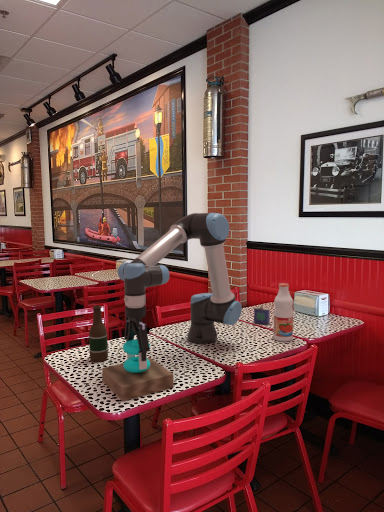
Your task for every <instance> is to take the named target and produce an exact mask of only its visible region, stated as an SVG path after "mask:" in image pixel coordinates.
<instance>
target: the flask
mask: <svg viewBox="0 0 384 512" xmlns="http://www.w3.org/2000/svg"><path fill="white" fill-rule="evenodd" d="M270 312H271V310H270V308H264V305H260V306H257V307H254V308H253V324H254V325H255V324H256V325H263V326H269V325H271V323H270V316H271V313H270Z"/></svg>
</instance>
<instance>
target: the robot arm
mask: <svg viewBox="0 0 384 512" xmlns="http://www.w3.org/2000/svg"><path fill="white" fill-rule="evenodd" d="M229 233H230V224H229V221H228V219H227V218H226V216H224V214H221V213H216V212H201V213H200V212H199V213H198V212H193V213H189V214H187V215H186V216H183V217H182V218H180V219H178V220H177V221H176V222H174V223H173V224H172V225H171V226H170V228H169V230H168V231H167V232H166V233H165V234H163V235H162V236H160V237H159V238H158V239H157V240H156V241H155V242H153V243H152V244H151V245H150V246H149V247H148V248H146V249H145V250H144V251H143V252H141V253H140V254H139V255H137V257H135V258H134V259H133V260H132V261H130V262H124V263H121V264H120V265H118V266H119V267H118V269H117V276H118V278H119V279H120V280H121V281H123V288H124V289H123V290H124V298H123V301H124V306H125V307H124V316H125V325H124V326H125V327H124V339H123V340H125V342H127V341H130V340H135V336H136V339H137V341H138V345H139V349H140V351H139V352H138V353H139V355H138V356H139V370H142V369H146V368H147V358H148V357H147V353H148V352H150V349H151V348H149V344H150V342H149V336H148V330H147V328H148V327H147V326H148V325H147V323H144V322H143V318H144V317H145V316H146V315H147V307H146V302H147V301H146V288H151V287H157V286H161V285H165V284H167V283H168V282H169V280H170V271H169V269H168V267H167V266H166V265H163V264H160V265H159V264H158V263H159V262H161V261H162V260H163V259H164V258H165V257H167V255H169V254H170V253H171V252H172V251H173V250H174V249H176V248H177V247H178V246H179V245H180V244H185V243H186V242H187V241H189V240H191V239H193V240H194V239H195V240H196V239H198V240H199V244H200V246H201V247H202V248H204V254H205V257H206V258H205V259H206V264H207V269H208V275H209V280H210V281H209V282H210V287H211V292H204V293H203V292H202V293H198V294H197V293H196V294H193V295H191V298H190V306H189V307H190V326H189V330H188V333H187V341H189V342H190V343H194V344H199V345H200V344H201V345H203V344H205V345H206V344H211V343H215V342H217V341H218V332H217V329H216V326H215V323H217V324H218V323H219V324H223V325H228V326H233V325H235V324H236V323H237V322H238V321H239V320H240V318H241V315H242V310H243V309H242V308H243V307H242V304H241V302H240V301H238V300H236V297H235V296H236V295H235V294H234V292H232V291H231V286H230V285H231V284H230V279H229V273H228V268H227V260H226V254H225V248H224V244H225V243H226V242H227V238H228V237H229V235H230V234H229ZM126 354H127V355H126V356H127V357H126V358H127V359H129V358H131V357H136V355H131V354H128V353H126ZM127 359H126V360H127Z"/></svg>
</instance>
